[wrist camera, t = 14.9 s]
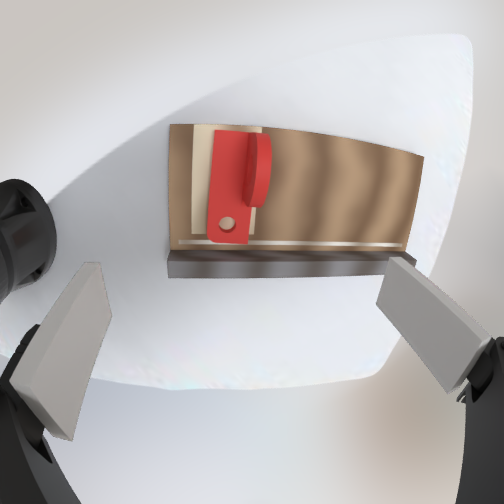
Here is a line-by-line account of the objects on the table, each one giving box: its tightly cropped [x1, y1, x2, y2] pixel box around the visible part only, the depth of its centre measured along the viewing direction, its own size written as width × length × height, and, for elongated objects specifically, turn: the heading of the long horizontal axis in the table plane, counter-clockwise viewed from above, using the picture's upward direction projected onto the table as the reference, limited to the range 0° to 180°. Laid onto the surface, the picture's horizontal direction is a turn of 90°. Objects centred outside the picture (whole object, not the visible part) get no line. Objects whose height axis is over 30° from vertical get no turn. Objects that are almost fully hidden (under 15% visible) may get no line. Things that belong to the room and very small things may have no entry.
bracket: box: [207, 130, 272, 244], centre depth 25 cm, size 12×4×8 cm, turn 174°
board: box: [167, 124, 424, 278], centre depth 30 cm, size 32×16×5 cm, turn 86°
